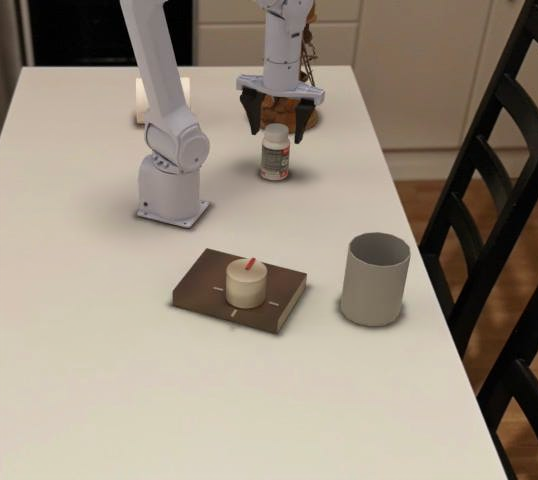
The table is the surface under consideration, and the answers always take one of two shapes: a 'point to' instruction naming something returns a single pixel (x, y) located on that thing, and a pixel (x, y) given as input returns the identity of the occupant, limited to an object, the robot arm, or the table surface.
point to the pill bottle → (275, 152)
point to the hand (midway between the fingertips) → (276, 137)
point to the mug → (143, 102)
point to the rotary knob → (246, 283)
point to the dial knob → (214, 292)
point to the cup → (375, 278)
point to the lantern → (284, 107)
